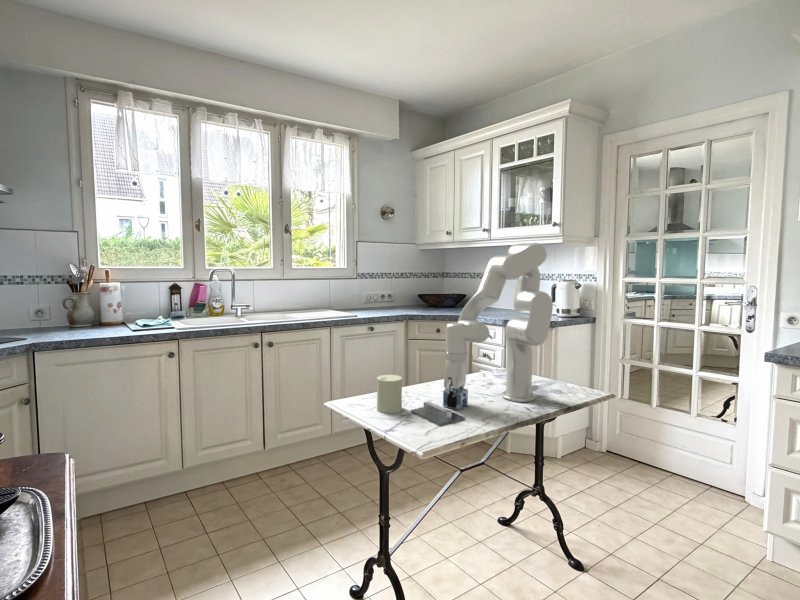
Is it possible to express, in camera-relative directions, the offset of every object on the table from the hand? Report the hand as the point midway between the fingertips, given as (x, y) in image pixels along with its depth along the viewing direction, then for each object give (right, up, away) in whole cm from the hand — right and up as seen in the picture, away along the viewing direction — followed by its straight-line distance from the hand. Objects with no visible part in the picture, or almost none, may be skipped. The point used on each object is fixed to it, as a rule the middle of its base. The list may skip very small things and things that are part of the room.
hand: (455, 404), depth 166 cm
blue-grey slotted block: (0, -1, 0) cm, 1 cm away
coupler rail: (-8, -2, -10) cm, 13 cm away
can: (-24, -1, -4) cm, 25 cm away
